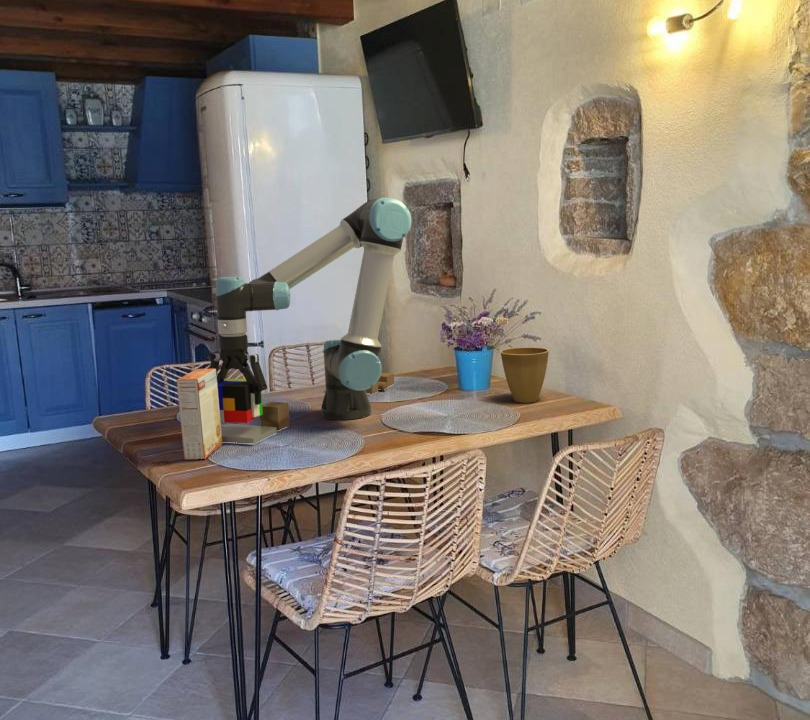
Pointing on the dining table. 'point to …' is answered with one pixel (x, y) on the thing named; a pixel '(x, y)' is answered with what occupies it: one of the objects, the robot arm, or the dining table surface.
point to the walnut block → (275, 415)
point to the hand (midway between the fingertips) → (238, 414)
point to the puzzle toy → (236, 401)
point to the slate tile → (245, 433)
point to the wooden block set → (382, 383)
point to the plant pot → (525, 372)
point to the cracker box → (199, 413)
